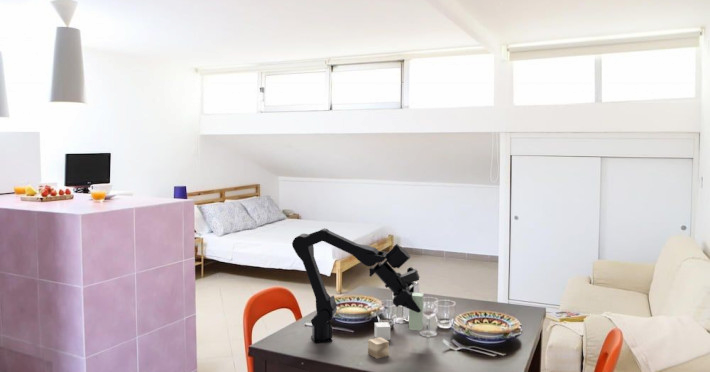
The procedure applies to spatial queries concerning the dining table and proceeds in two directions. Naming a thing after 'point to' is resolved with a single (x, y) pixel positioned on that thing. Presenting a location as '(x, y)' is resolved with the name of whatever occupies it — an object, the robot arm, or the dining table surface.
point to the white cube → (382, 330)
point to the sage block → (416, 313)
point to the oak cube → (378, 347)
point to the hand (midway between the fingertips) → (420, 309)
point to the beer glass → (406, 310)
